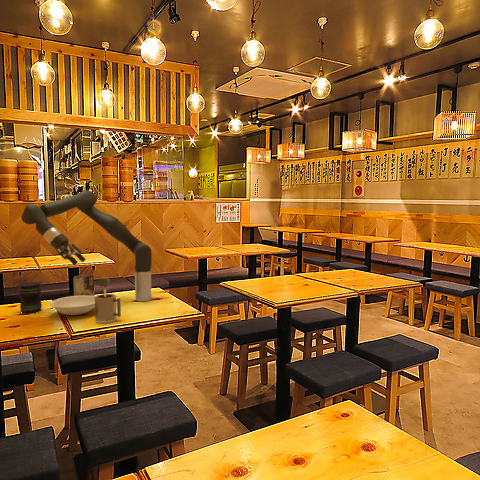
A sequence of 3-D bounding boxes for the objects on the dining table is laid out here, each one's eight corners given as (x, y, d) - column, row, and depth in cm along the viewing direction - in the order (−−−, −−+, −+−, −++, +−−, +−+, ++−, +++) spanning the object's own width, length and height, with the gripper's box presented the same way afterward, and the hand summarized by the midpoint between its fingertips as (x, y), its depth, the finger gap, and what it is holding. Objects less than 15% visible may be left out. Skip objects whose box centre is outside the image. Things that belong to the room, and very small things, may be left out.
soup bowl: (52, 309, 208) (52, 297, 207) (100, 305, 216) (99, 293, 216) (48, 322, 186) (47, 309, 185) (101, 317, 194) (100, 304, 193)
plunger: (102, 312, 192) (101, 276, 190) (113, 312, 192) (112, 276, 190) (97, 315, 186) (96, 278, 184) (109, 315, 186) (108, 279, 184)
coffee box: (88, 301, 226) (87, 273, 224) (95, 302, 222) (94, 275, 220) (73, 304, 218) (72, 276, 217) (80, 306, 214) (79, 277, 213)
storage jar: (45, 311, 205) (44, 283, 203) (26, 315, 197) (24, 286, 195) (36, 307, 211) (34, 280, 209) (17, 312, 203) (15, 284, 201)
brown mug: (100, 317, 194) (99, 293, 193) (123, 317, 194) (123, 294, 193) (92, 323, 185) (91, 298, 183) (117, 323, 184) (116, 298, 183)
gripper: (58, 242, 194) (81, 265, 194) (42, 245, 179) (68, 270, 180) (68, 231, 193) (91, 254, 194) (53, 234, 179) (78, 259, 179)
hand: (80, 262), depth 187 cm, fingers open, 8 cm apart
